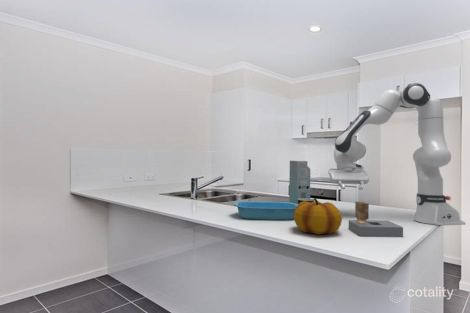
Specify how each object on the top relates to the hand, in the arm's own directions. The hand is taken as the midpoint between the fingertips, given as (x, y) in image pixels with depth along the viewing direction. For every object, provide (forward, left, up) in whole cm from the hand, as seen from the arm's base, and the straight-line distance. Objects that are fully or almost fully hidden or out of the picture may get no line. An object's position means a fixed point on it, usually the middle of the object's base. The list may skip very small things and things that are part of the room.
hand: (352, 188), depth 162 cm
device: (+23, -24, -16) cm, 37 cm away
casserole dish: (+44, -6, -17) cm, 47 cm away
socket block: (0, +26, -16) cm, 31 cm away
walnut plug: (0, +12, -16) cm, 20 cm away
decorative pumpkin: (+25, +25, -16) cm, 39 cm away
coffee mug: (+23, -4, -16) cm, 28 cm away
